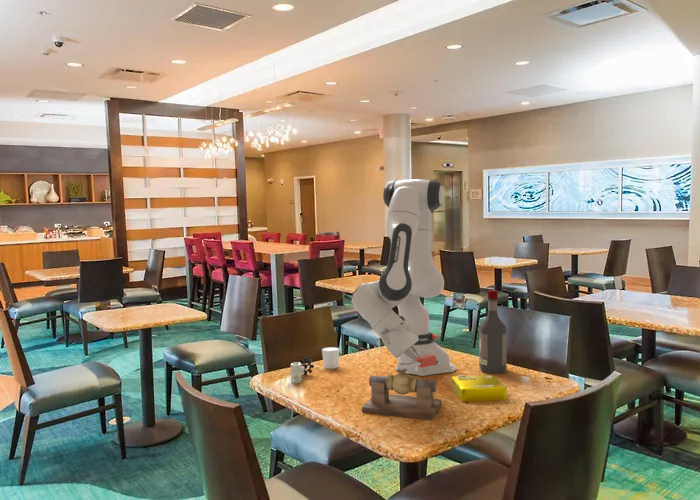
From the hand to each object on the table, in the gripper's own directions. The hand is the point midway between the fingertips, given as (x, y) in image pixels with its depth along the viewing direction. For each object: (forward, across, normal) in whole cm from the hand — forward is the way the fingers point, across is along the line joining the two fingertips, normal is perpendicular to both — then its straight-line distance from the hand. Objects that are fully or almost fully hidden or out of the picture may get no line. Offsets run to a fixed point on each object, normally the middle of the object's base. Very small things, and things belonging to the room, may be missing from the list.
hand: (418, 359), depth 174 cm
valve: (-23, +8, +42) cm, 48 cm away
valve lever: (+1, -5, +1) cm, 5 cm away
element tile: (+21, +12, -3) cm, 24 cm away
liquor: (+21, +42, -4) cm, 47 cm away
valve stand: (+7, -10, +11) cm, 16 cm away
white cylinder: (-20, +27, +39) cm, 51 cm away
